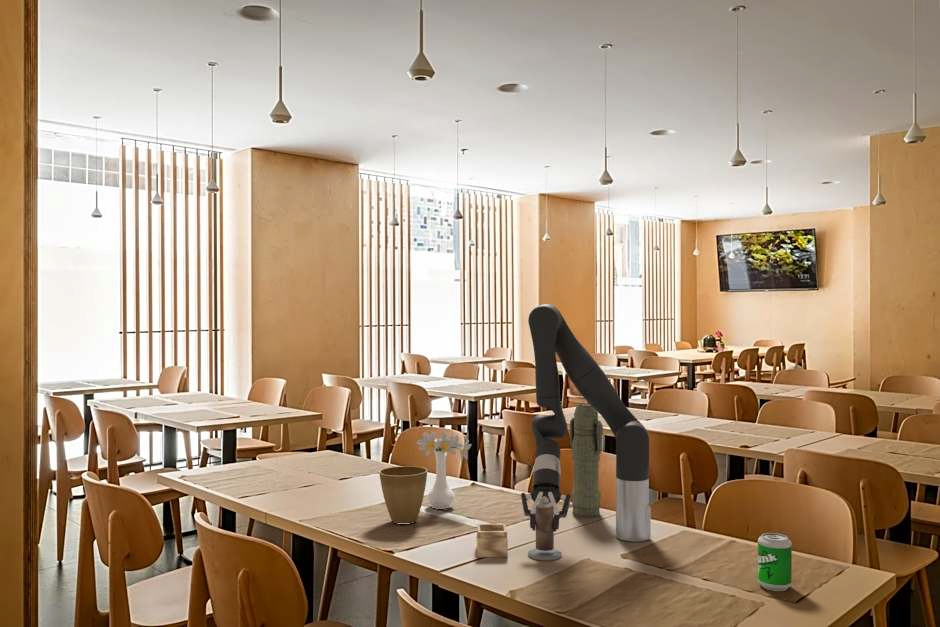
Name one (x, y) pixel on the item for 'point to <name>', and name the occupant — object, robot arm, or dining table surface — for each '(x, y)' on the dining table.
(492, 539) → the oak caddy
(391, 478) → the plant pot
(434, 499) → the flower vase
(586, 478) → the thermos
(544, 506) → the pepper mill
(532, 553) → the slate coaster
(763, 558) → the soda can
